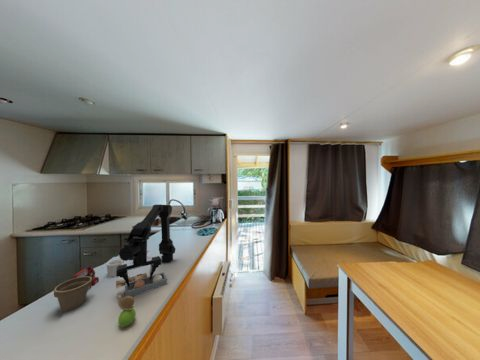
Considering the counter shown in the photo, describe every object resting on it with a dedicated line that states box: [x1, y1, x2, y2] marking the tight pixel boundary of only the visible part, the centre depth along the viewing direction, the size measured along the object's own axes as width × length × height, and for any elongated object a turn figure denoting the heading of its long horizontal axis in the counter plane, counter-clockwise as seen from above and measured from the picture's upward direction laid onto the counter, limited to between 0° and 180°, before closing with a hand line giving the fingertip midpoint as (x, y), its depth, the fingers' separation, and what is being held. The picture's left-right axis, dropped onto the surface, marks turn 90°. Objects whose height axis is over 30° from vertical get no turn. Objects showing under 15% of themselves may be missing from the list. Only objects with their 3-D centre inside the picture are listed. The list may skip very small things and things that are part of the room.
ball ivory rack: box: [118, 273, 130, 283], centre depth 85 cm, size 4×4×4 cm
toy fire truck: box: [72, 265, 100, 291], centre depth 81 cm, size 7×12×10 cm, turn 9°
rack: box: [115, 272, 148, 289], centre depth 87 cm, size 14×7×2 cm, turn 127°
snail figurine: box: [116, 291, 137, 328], centre depth 61 cm, size 5×6×12 cm
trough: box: [124, 272, 168, 298], centre depth 81 cm, size 18×8×4 cm, turn 127°
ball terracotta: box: [133, 280, 146, 289], centre depth 80 cm, size 4×4×4 cm
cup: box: [106, 258, 125, 278], centre depth 93 cm, size 11×8×8 cm
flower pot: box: [53, 276, 92, 313], centre depth 69 cm, size 12×11×10 cm
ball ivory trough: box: [152, 273, 163, 283], centre depth 84 cm, size 4×4×4 cm
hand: (139, 282), depth 80 cm, fingers open, 9 cm apart
